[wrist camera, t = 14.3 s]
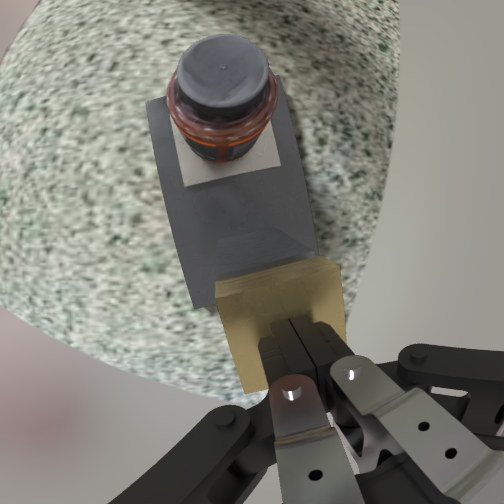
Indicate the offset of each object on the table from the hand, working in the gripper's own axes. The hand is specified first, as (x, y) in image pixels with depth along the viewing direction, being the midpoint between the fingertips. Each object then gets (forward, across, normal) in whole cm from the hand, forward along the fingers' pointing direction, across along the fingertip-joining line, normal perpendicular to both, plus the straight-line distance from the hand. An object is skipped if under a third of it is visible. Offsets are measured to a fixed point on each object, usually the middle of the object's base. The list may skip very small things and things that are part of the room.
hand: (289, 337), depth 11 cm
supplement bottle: (+13, 0, -12) cm, 17 cm away
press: (+15, 0, -6) cm, 16 cm away
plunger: (+12, 0, 0) cm, 12 cm away
